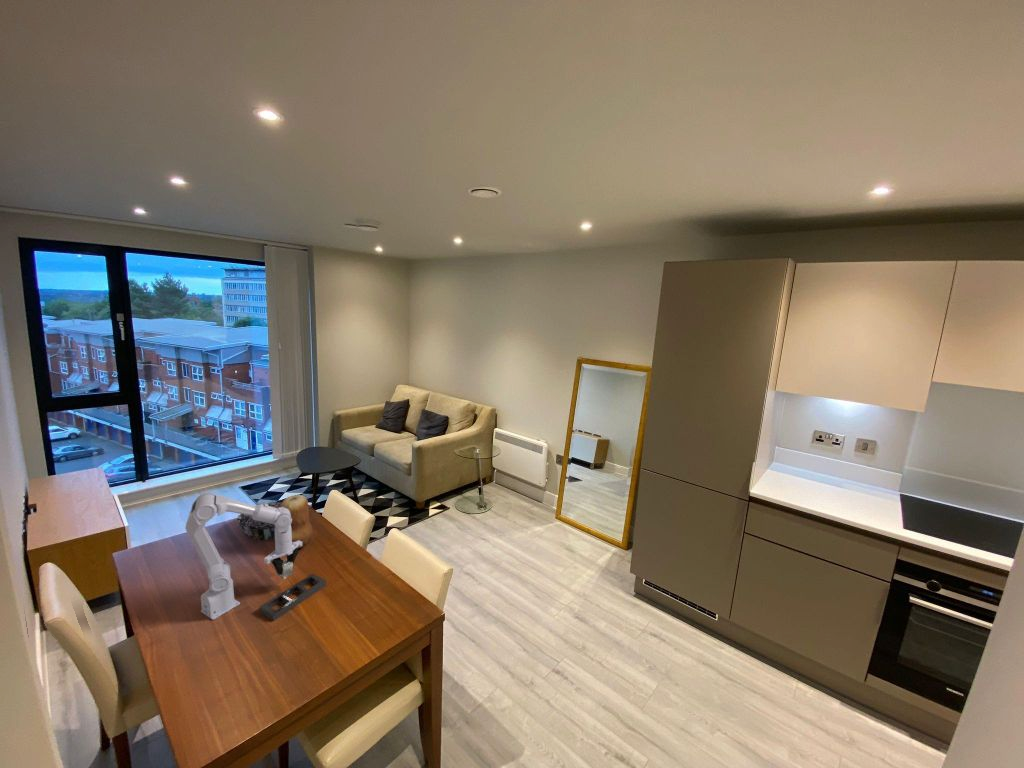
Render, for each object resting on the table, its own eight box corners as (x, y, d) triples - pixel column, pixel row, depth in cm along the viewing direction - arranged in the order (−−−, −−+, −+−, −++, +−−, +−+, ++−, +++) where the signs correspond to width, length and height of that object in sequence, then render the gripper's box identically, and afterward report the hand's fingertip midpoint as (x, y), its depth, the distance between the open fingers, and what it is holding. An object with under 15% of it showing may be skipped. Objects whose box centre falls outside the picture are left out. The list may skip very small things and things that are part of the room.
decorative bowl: (273, 552, 188) (273, 533, 186) (222, 538, 193) (222, 519, 191) (311, 524, 213) (311, 507, 211) (265, 512, 218) (265, 495, 216)
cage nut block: (283, 578, 160) (283, 567, 159) (277, 575, 161) (276, 563, 160) (293, 573, 163) (292, 561, 162) (286, 569, 165) (286, 558, 164)
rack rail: (273, 621, 147) (273, 614, 146) (259, 612, 150) (259, 606, 150) (326, 585, 166) (325, 580, 166) (312, 578, 170) (312, 573, 169)
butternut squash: (273, 551, 186) (270, 500, 181) (296, 536, 198) (294, 488, 194) (297, 558, 182) (295, 506, 177) (319, 542, 195) (318, 493, 190)
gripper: (271, 551, 151) (273, 584, 154) (307, 533, 164) (308, 564, 167) (260, 545, 154) (261, 578, 157) (295, 528, 167) (296, 558, 170)
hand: (284, 570), depth 162 cm, fingers closed on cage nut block, 4 cm apart
